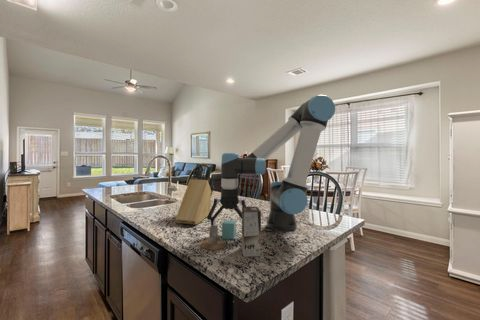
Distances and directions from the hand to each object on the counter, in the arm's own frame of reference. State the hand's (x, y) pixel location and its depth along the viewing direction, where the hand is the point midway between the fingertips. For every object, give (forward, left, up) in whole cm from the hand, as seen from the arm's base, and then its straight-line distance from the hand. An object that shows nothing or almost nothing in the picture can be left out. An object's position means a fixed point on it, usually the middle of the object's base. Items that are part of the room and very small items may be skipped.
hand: (228, 236), depth 102 cm
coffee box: (-11, +14, 0) cm, 18 cm away
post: (+4, +11, 0) cm, 12 cm away
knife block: (+25, -28, 0) cm, 37 cm away
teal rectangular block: (0, 0, 0) cm, 0 cm away
